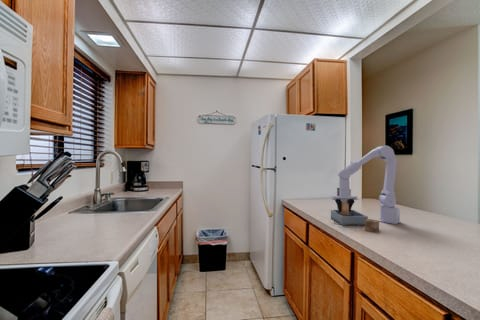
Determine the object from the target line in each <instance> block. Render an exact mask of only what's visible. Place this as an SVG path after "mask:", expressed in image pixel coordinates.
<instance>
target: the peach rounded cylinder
mask: <svg viewBox="0 0 480 320" xmlns="http://www.w3.org/2000/svg"><path fill="white" fill-rule="evenodd" d="M340 215H342V216H349V203H342V204H341V212H340Z"/></svg>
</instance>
